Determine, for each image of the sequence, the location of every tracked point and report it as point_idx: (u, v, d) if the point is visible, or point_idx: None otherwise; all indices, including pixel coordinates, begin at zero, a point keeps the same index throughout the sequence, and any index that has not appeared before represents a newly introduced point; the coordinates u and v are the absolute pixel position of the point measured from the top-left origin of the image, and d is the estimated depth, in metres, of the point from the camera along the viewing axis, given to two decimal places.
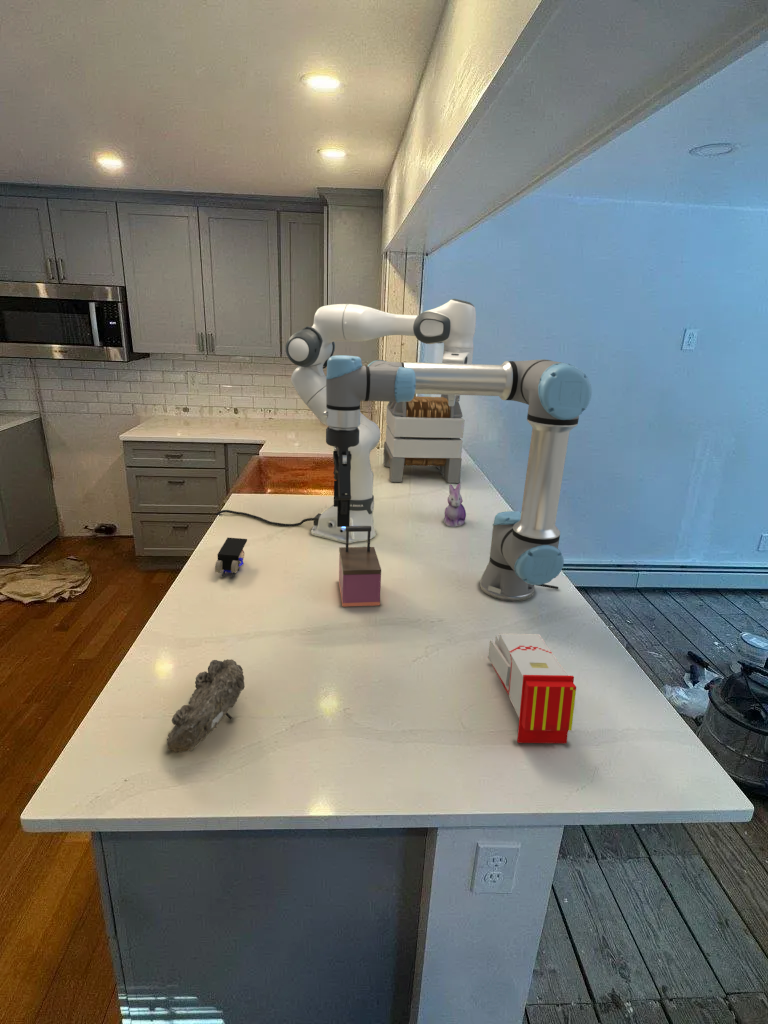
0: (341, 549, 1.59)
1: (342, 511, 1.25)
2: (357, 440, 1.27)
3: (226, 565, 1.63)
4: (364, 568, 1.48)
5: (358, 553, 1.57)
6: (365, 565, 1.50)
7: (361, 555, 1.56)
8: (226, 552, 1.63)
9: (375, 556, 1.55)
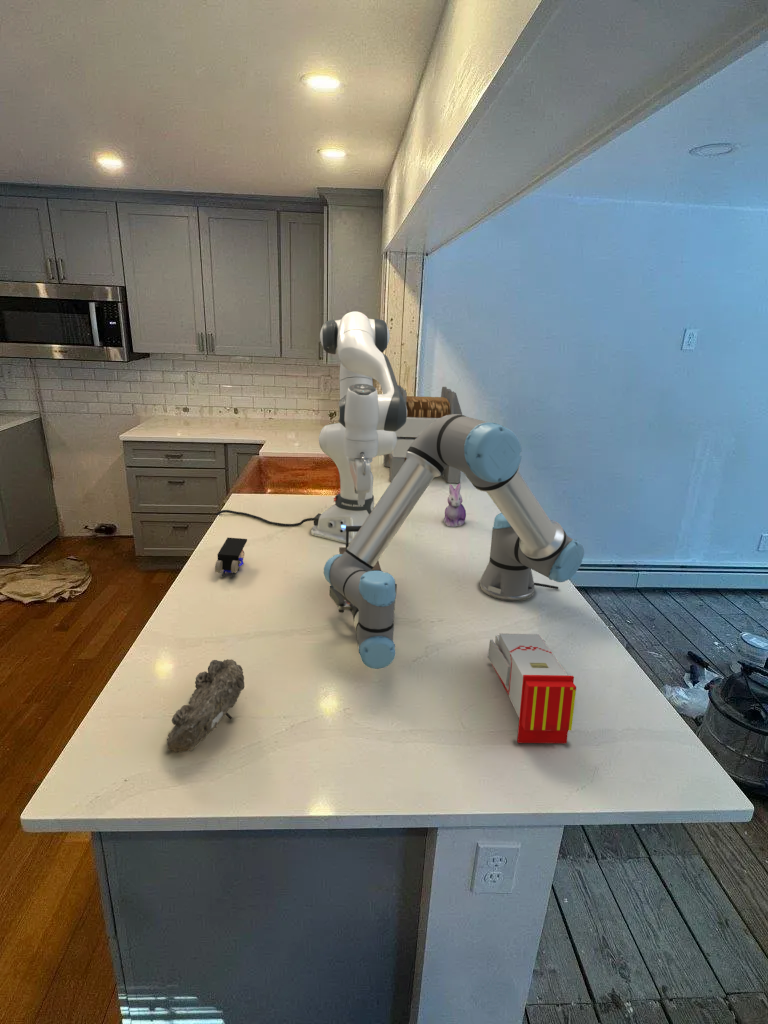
0: (341, 549, 1.59)
1: None
2: None
3: (226, 565, 1.63)
4: None
5: None
6: None
7: None
8: (226, 552, 1.63)
9: None
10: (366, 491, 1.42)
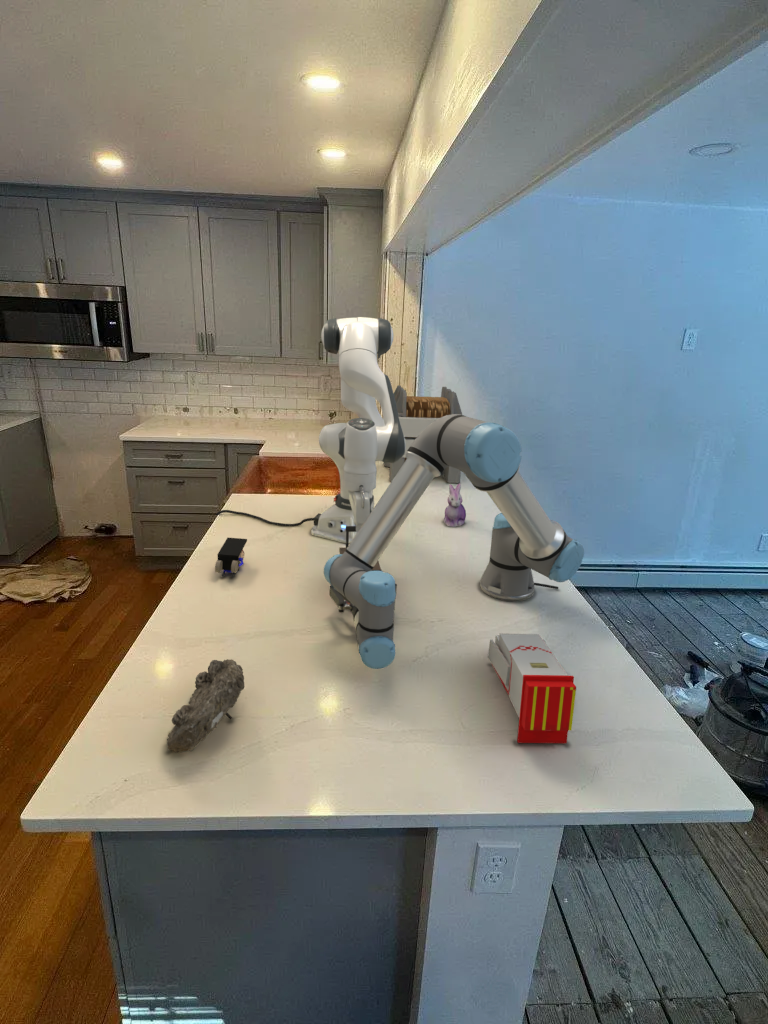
0: (341, 549, 1.59)
1: None
2: None
3: (226, 565, 1.63)
4: None
5: None
6: None
7: None
8: (226, 552, 1.63)
9: None
10: None
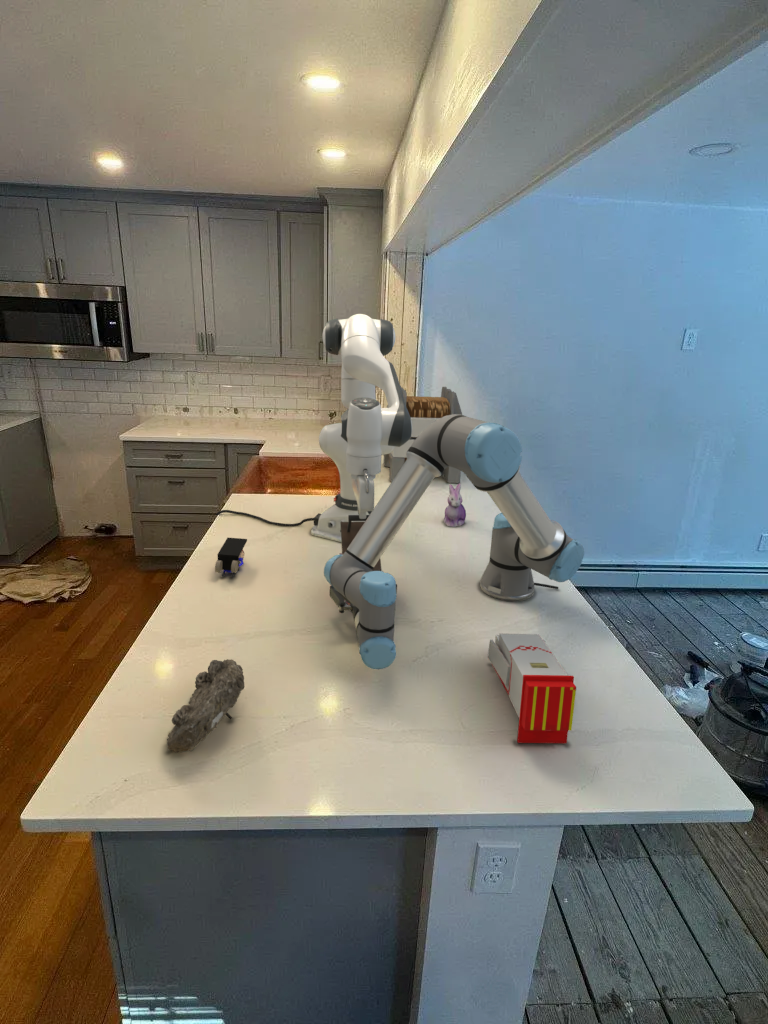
0: (342, 526, 1.53)
1: None
2: None
3: (226, 565, 1.63)
4: None
5: None
6: None
7: None
8: (226, 552, 1.63)
9: None
10: (369, 510, 1.36)
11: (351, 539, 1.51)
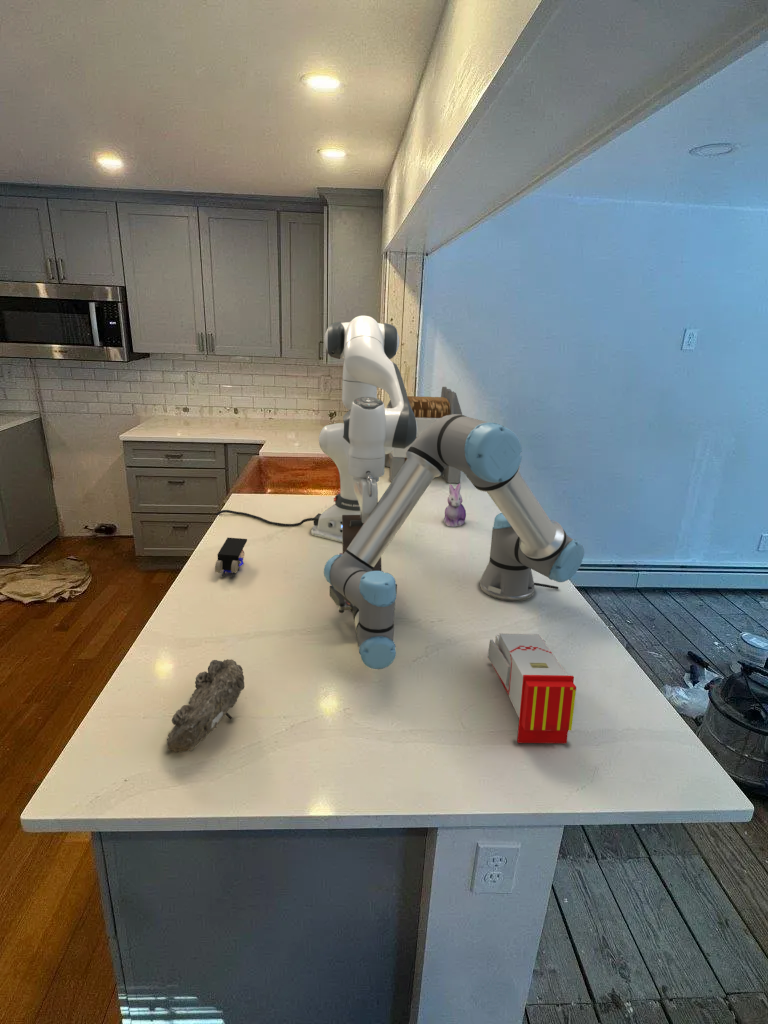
0: (344, 520, 1.47)
1: None
2: None
3: (226, 565, 1.63)
4: None
5: None
6: None
7: None
8: (226, 552, 1.63)
9: None
10: None
11: (352, 535, 1.47)
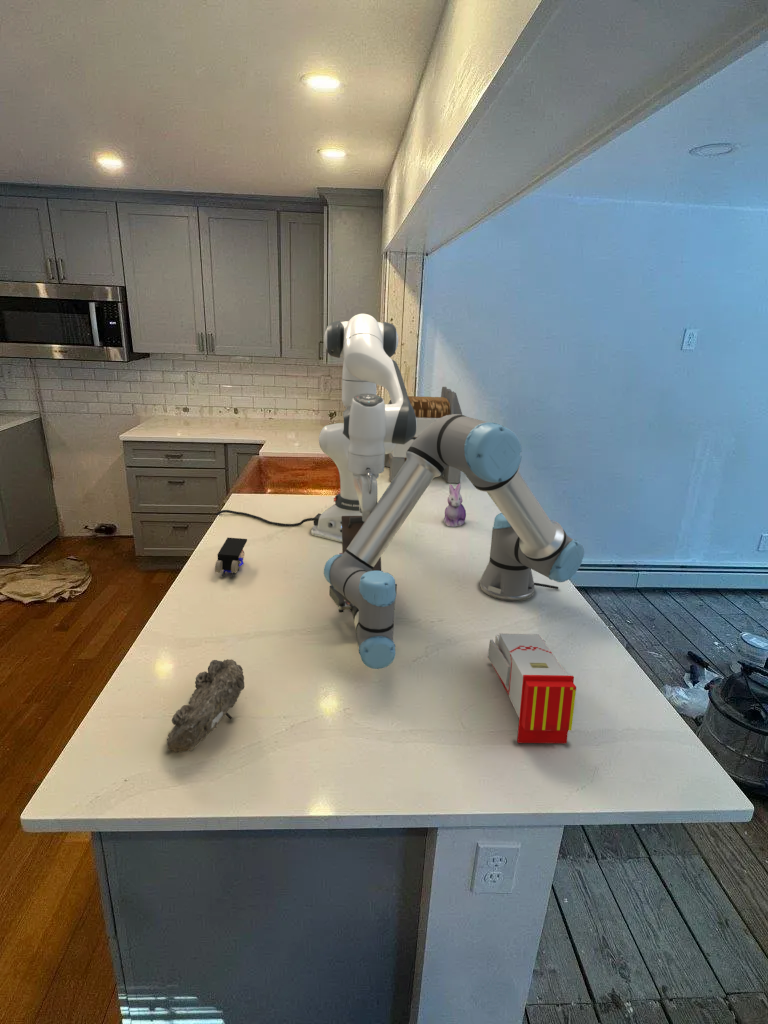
0: (343, 521, 1.49)
1: None
2: None
3: (226, 565, 1.63)
4: None
5: None
6: None
7: None
8: (226, 552, 1.63)
9: None
10: None
11: (352, 536, 1.49)
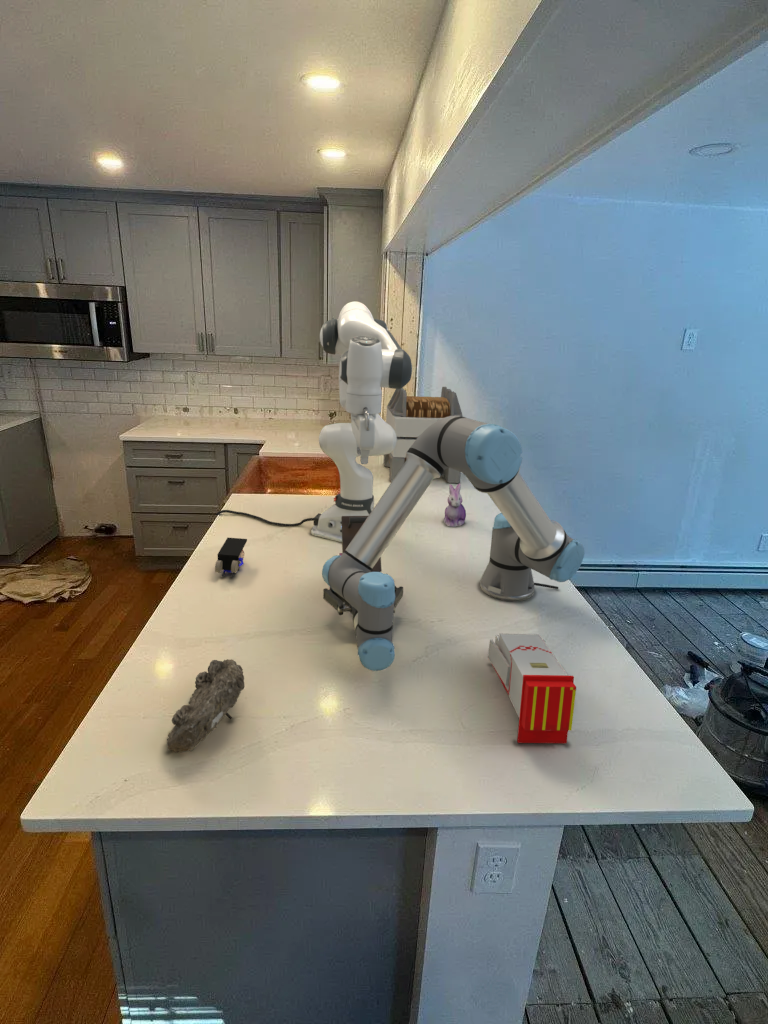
0: (343, 521, 1.50)
1: None
2: None
3: (226, 565, 1.63)
4: None
5: None
6: None
7: None
8: (226, 552, 1.63)
9: None
10: (370, 448, 1.35)
11: (352, 536, 1.49)
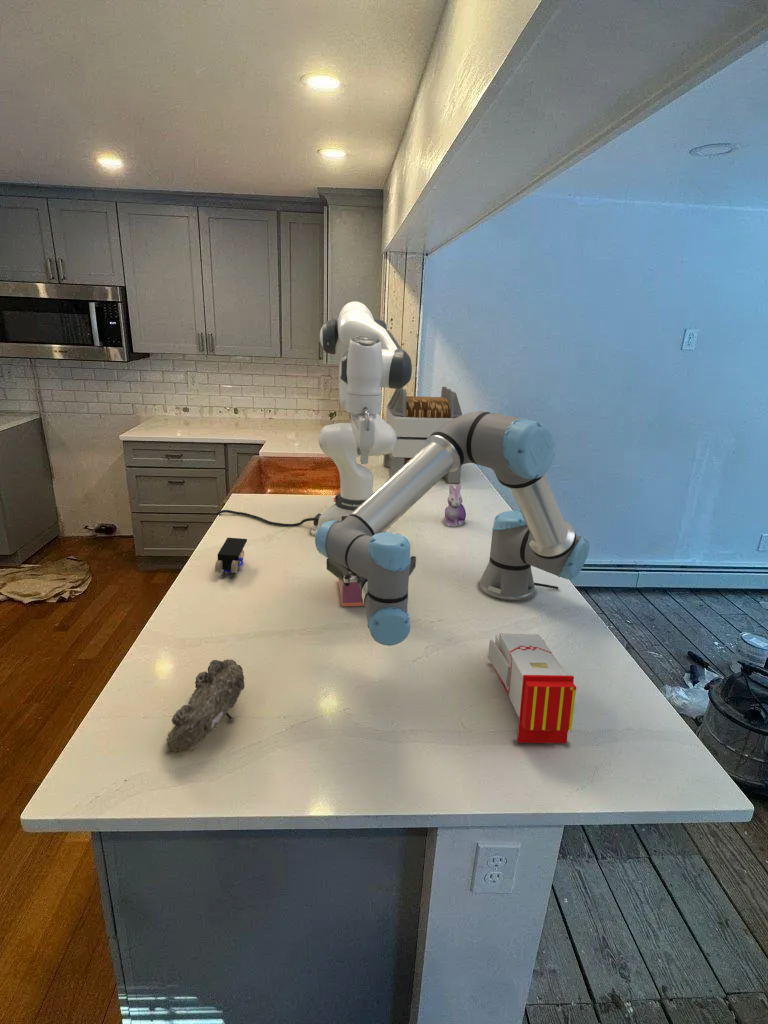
0: None
1: None
2: None
3: (226, 565, 1.63)
4: None
5: None
6: None
7: None
8: (226, 552, 1.63)
9: None
10: (370, 448, 1.35)
11: None
